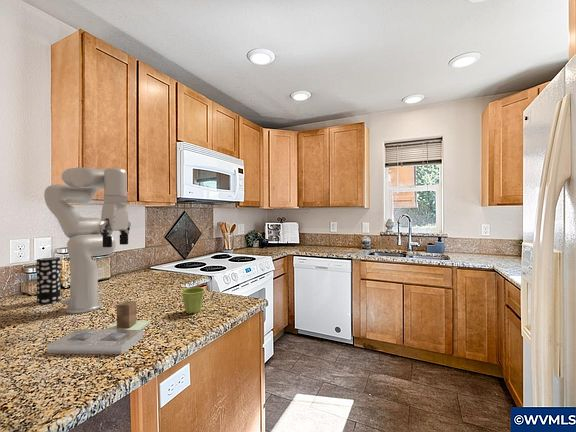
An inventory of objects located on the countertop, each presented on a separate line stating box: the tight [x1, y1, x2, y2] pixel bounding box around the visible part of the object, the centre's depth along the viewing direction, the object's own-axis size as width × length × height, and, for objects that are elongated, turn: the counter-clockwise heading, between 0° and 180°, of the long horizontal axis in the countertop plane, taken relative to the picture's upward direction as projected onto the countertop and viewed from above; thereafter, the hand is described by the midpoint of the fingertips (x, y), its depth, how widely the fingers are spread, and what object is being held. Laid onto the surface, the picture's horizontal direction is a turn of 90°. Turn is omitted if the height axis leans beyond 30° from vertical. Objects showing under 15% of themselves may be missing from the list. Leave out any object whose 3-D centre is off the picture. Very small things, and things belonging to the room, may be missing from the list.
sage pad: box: [103, 320, 151, 330], centre depth 100 cm, size 12×9×1 cm
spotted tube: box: [36, 257, 61, 306], centre depth 131 cm, size 8×8×20 cm
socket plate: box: [47, 328, 144, 355], centre depth 87 cm, size 22×11×2 cm, turn 88°
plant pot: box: [180, 287, 206, 314], centre depth 117 cm, size 9×9×9 cm
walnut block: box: [116, 300, 137, 328], centre depth 100 cm, size 4×4×8 cm
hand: (116, 245), depth 108 cm, fingers open, 9 cm apart
